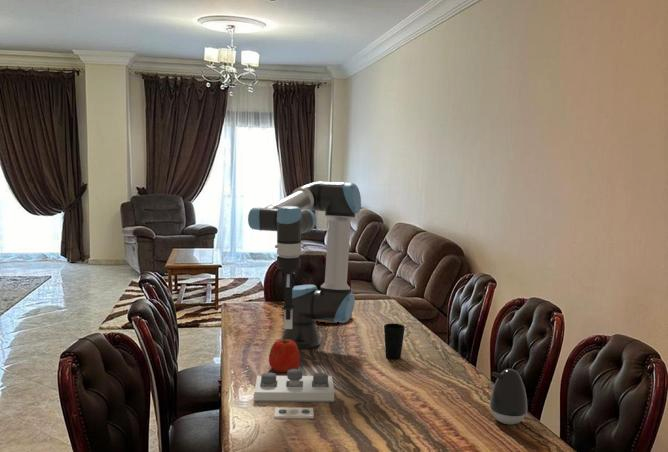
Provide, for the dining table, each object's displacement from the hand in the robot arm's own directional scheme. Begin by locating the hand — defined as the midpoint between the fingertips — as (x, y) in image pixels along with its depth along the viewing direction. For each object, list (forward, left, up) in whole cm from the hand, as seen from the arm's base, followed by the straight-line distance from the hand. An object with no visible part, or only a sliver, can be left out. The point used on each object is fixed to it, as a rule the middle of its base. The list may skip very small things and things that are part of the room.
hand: (288, 328), depth 191 cm
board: (+6, -3, -19) cm, 20 cm away
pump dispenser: (+63, +26, -19) cm, 71 cm away
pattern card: (+17, -14, -19) cm, 29 cm away
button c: (+1, -9, -18) cm, 20 cm away
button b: (+6, -3, -17) cm, 18 cm away
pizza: (-48, +72, -19) cm, 89 cm away
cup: (+7, +48, -19) cm, 52 cm away
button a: (+12, +3, -18) cm, 22 cm away
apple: (-12, +10, -19) cm, 25 cm away
